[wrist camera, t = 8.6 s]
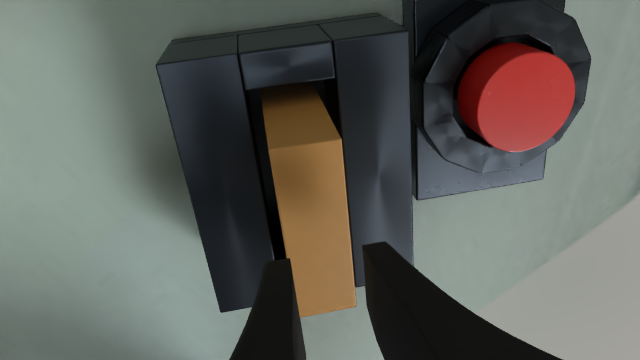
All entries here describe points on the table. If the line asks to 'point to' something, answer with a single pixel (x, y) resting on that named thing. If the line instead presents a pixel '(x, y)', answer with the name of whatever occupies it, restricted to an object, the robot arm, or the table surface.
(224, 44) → the toaster
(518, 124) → the button
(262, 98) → the toast
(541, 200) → the table surface
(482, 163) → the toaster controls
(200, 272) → the table surface
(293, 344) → the robot arm
